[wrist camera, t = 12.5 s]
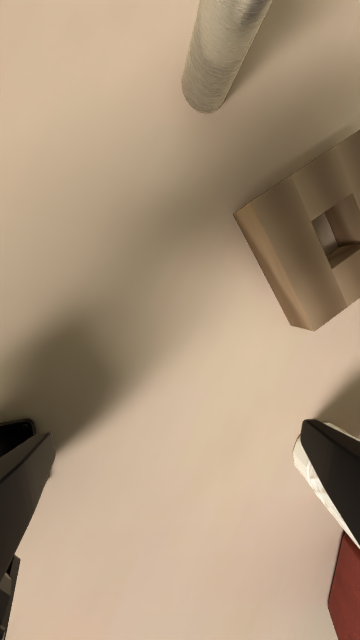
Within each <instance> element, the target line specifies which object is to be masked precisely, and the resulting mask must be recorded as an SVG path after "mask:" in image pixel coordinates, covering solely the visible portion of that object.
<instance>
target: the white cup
mask: <svg viewBox="0 0 360 640" xmlns="http://www.w3.org/2000/svg"><path fill="white" fill-rule="evenodd" d="M324 424H326V425H328V426H330V427H332V428H334V429H336V430H338V431H340V432H342V433H344V434H346V435H348V436H350V437H352V438H354V439H356V440H358V441H360V439H359V438H356V437H354V436H352V435H350V434H349V433H347V432H346V431H344V430H343V429H341V428H339V427H338V426H335V425H333V424H331V423H329V422H325V423H324ZM293 459H294V465H295V466H296V468H297V469H298V470H299V472H300V473H301V475H302V476H303V477H304V478H305V479H306V481H307V482H308V483H309V484H310V486H311V487H312V488H313V491H314V492H315V494H316V495H317V496H318V497H319V498H320V500H321V501H322V502H323V504H324V505H325V506H326V508H327V509H328V510H329V511H330V512H331V514H332V515H333V516H334V517H335V519H336V520H337V522H338V523H339V524H340V525H341V527H342V528H343V529H344V530H345V532H346V533H347V534H348V535H349V536H350V538H351V539H352V540H353V541H354V543H355V544H356V545H357V546H358V548H359V549H360V546H359V544H358V543H357V541H356V540H355V538H354V536H353V535H352V533H351V532H350V530H349V528H348V527H347V525H346V524H345V522H344V520H343V519H342V517H341V515H340V514H339V512H338V511H337V509H336V507H335V506H334V504H333V503H332V501H331V499H330V498H329V496H328V494H327V493H326V491H325V489H324V487H323V486H322V484H321V482H320V480H319V478H318V476H317V474H316V472H315V470H314V468H313V466H312V464H311V463H310V461H309V459H308V457H307V455H306V453H305V451H304V449H303V447H302V445H301V441H300V437H299V438H298V439H297V442H296V444H295V447H294V450H293Z"/></svg>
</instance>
